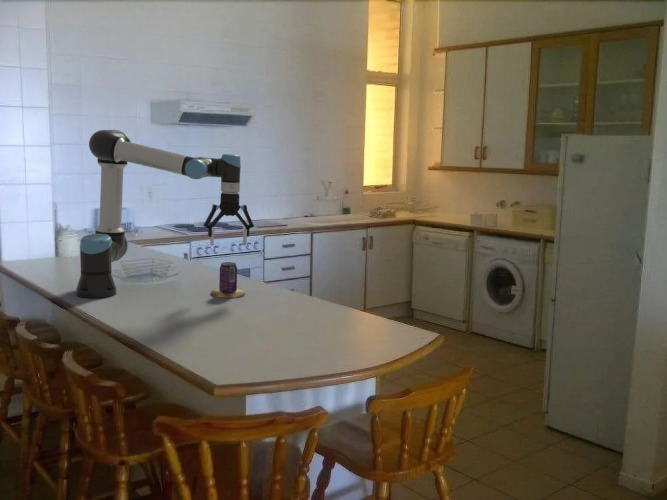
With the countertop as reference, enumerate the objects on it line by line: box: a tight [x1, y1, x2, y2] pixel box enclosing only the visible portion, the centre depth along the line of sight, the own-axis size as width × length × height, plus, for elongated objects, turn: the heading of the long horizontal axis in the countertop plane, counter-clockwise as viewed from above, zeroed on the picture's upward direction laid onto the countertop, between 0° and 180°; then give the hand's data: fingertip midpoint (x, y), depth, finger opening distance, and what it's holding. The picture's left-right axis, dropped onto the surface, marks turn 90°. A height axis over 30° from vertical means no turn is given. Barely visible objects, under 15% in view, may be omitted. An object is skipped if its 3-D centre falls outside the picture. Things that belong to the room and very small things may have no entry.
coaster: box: [210, 288, 246, 299], centre depth 287 cm, size 14×14×1 cm
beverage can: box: [218, 261, 238, 293], centre depth 285 cm, size 7×7×12 cm
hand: (228, 244), depth 283 cm, fingers open, 13 cm apart
